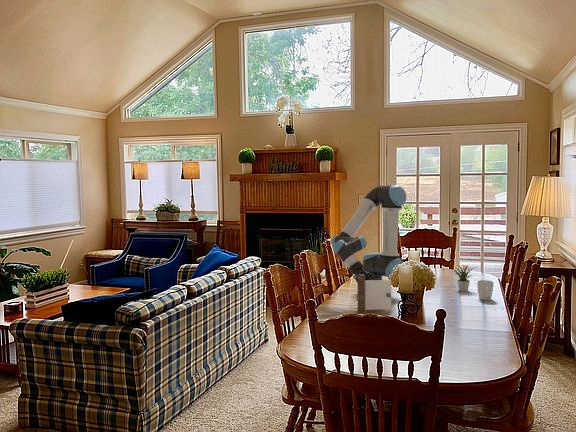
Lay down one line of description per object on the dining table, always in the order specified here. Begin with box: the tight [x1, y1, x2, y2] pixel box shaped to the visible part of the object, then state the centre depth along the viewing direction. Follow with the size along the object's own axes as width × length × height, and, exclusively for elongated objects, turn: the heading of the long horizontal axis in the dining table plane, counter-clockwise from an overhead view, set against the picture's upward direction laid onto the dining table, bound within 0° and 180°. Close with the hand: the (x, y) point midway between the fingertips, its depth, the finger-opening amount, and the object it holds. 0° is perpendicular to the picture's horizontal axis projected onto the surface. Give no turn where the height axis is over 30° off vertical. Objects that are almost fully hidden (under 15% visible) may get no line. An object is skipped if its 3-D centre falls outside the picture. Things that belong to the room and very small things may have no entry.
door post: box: [357, 274, 366, 315], centre depth 264 cm, size 2×3×20 cm
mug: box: [477, 279, 494, 301], centre depth 291 cm, size 11×8×10 cm
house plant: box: [453, 264, 476, 292], centre depth 315 cm, size 14×14×16 cm
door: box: [365, 279, 392, 311], centre depth 265 cm, size 14×3×15 cm, turn 96°
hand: (380, 298), depth 272 cm, fingers closed on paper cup, 9 cm apart
